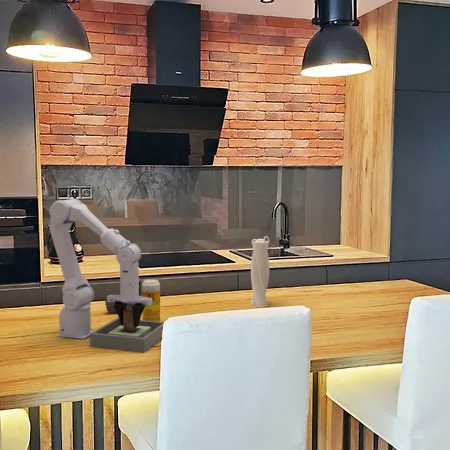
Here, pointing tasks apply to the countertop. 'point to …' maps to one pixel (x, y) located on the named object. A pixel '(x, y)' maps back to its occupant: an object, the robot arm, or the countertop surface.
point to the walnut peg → (128, 321)
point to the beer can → (152, 291)
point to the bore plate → (140, 333)
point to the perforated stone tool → (110, 304)
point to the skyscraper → (259, 271)
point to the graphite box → (126, 337)
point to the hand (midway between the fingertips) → (129, 325)
